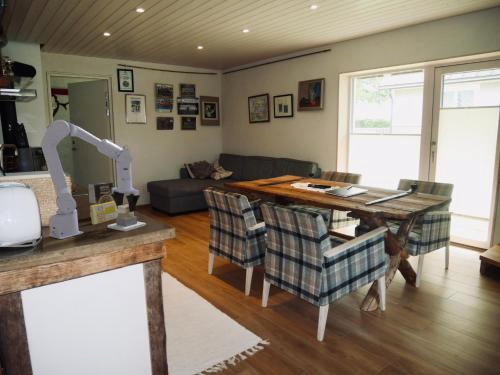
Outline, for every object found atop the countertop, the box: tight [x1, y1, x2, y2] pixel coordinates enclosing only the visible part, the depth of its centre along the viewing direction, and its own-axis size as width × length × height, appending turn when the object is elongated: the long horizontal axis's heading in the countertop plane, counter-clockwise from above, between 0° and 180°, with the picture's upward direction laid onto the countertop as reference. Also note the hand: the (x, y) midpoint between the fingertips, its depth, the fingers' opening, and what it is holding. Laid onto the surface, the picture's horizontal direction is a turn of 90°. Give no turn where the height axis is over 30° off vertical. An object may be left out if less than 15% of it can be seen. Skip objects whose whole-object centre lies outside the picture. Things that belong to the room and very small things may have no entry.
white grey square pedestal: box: [107, 215, 147, 232], centre depth 151 cm, size 11×11×4 cm
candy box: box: [89, 201, 118, 225], centre depth 161 cm, size 16×2×8 cm, turn 149°
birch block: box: [118, 203, 135, 219], centre depth 150 cm, size 4×4×5 cm
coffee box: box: [88, 181, 114, 218], centre depth 167 cm, size 9×6×16 cm
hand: (126, 210), depth 150 cm, fingers open, 7 cm apart
